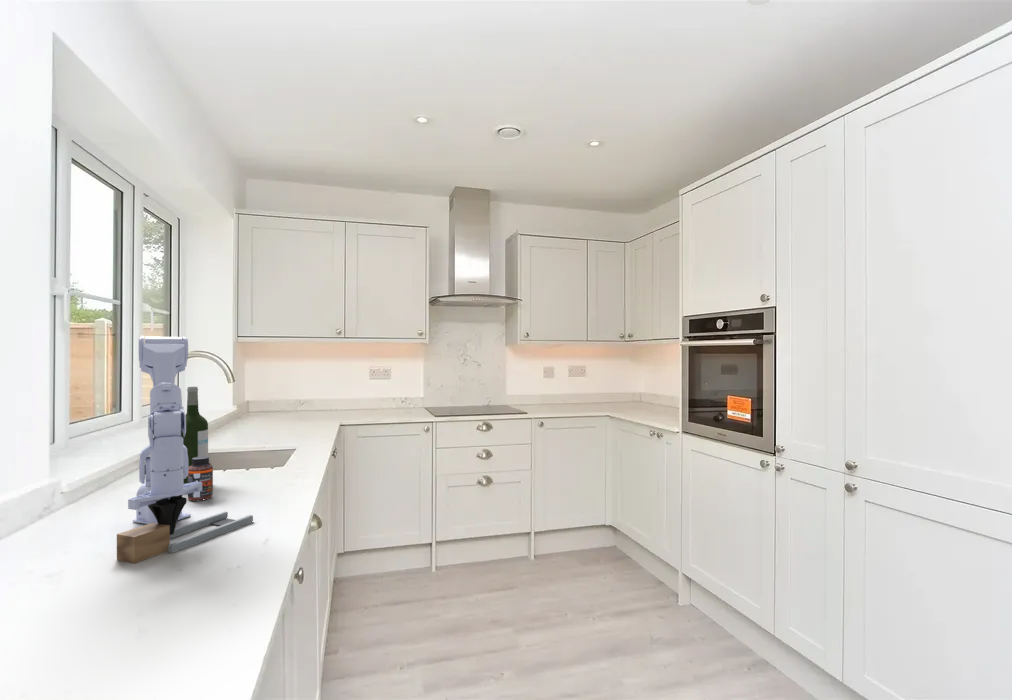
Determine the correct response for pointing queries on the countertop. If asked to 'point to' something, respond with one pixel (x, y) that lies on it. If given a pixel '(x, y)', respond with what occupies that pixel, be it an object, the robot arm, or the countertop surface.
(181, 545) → the channel
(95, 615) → the countertop surface
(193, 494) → the supplement bottle
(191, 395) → the wine bottle
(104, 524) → the countertop surface
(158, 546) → the brown rectangular block
